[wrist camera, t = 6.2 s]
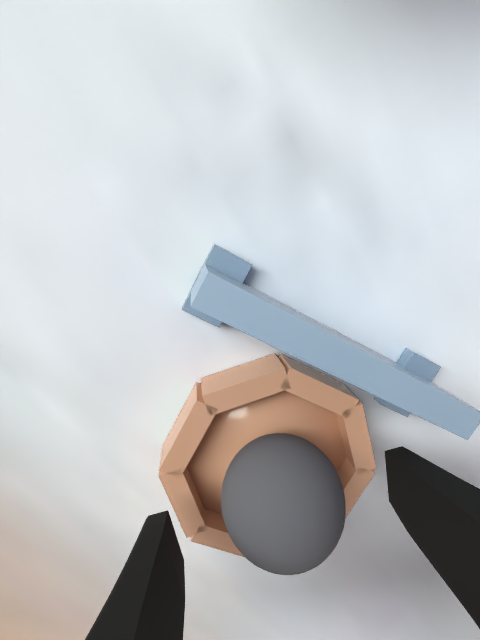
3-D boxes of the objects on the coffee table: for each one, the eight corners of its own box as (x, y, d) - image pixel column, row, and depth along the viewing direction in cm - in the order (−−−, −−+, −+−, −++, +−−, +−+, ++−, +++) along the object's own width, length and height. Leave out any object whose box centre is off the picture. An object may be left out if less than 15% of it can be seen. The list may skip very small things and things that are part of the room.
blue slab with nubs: (431, 362, 13) (498, 396, 10) (400, 410, 14) (455, 457, 11) (213, 244, 11) (220, 246, 8) (182, 306, 11) (178, 330, 8)
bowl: (387, 404, 13) (408, 423, 12) (296, 544, 15) (307, 575, 13) (225, 327, 12) (229, 339, 10) (137, 493, 13) (130, 523, 11)
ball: (323, 411, 12) (384, 487, 9) (308, 499, 13) (358, 603, 10) (219, 411, 12) (237, 495, 8) (211, 503, 13) (223, 619, 9)
